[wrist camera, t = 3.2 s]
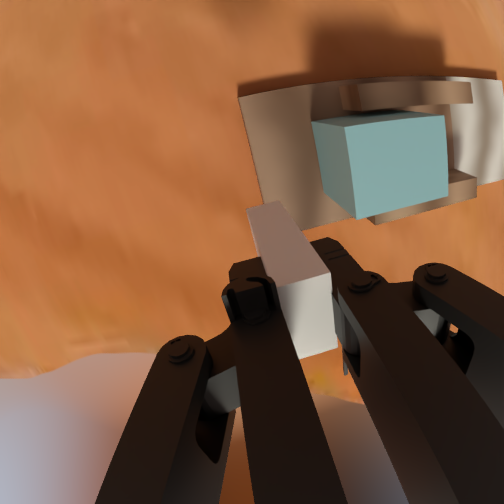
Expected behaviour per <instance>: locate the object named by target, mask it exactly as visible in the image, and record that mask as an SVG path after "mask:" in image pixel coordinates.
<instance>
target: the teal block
mask: <svg viewBox="0 0 504 504" xmlns="http://www.w3.org/2000/svg"><path fill="white" fill-rule="evenodd" d="M311 124H312V129H313V134H314V139H315V144H316V150H317V155H318V161H319V166H320V172H321V178H322V184H323V190H324V193H325V194H326V195H327V196H329V197H330V198H331V199H332V200H333V201H335V202H336V203H337V204H338V205H340V206H341V207H342V208H343V209H344V210H346V211H347V212H348V213H349V214H350V215H351V216H353V217H354V218H355V219H356V220H358V219H362V218H366V217H370V216H373V215H377V214H381V213H385V212H389V211H393V210H396V209H400V208H404V207H408V206H412V205H416V204H420V203H423V202H427V201H431V200H435V199H439V198H443V197H447V196H448V157H447V141H446V128H445V118H444V115H438V114H431V113H423V112H414V111H405V110H388V111H379V112H371V113H363V114H355V115H348V116H342V117H335V118H329V119H323V120H317V121H312V122H311Z"/></svg>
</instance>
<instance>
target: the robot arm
mask: <svg viewBox="0 0 504 504" xmlns="http://www.w3.org/2000/svg"><path fill="white" fill-rule="evenodd" d="M246 212H247V215H248V219H249V223H250V227H251V231H252V235H253V239H254V243H255V247H256V250H257V254H258V257H256V258H253V259H249V260H245V261H241V262H238V263H234V264H233V265H232V267H231V269H230V271H229V280H230V283H229V284H228V285H227V286H226V287H225V288H224V290H223V292H222V296H221V297H222V300H223V303H224V305H225V308H226V311H227V314H228V317H229V319H230V322H231V324H230V326H229V327H228V328H227V329H226V330H225V331H224V332H223V333H221V334H220V335H218V336H216V337H214V338H212V339H210V340H208V341H206V342H204V341H203V339H202V338H200V337H198V336H194V335H184V336H179V337H177V338H174V339H172V340H170V341H169V342H167V343H166V344H165V345H164V346H162V348H161V349H160V350H159V352H158V353H157V355H156V358H155V360H154V362H153V364H152V367H151V369H150V371H149V373H148V375H147V378H146V380H145V382H144V384H143V387H142V389H141V392H140V394H139V396H138V398H137V401H136V403H135V405H134V407H133V410H132V412H131V414H130V417H129V419H128V422H127V424H126V426H125V429H124V431H123V433H122V436H121V438H120V441H119V443H118V446H117V448H116V451H115V453H114V455H113V458H112V461H111V463H110V466H109V468H108V471H107V473H106V476H105V478H104V481H103V483H102V486H101V489H100V491H99V494H98V496H97V499H96V502H95V504H219V499H220V494H221V489H222V483H223V478H224V473H225V467H226V462H227V457H228V452H229V446H230V441H231V435H232V429H233V424H234V419H235V413H236V410H235V409H236V408H238V407H240V406H241V412H242V419H243V428H244V435H245V441H246V449H247V456H248V463H249V470H250V477H251V483H252V490H253V496H254V502H255V504H348V503H347V500H346V497H345V494H344V491H343V488H342V485H341V482H340V479H339V476H338V473H337V470H336V467H335V464H334V461H333V458H332V455H331V452H330V449H329V446H328V443H327V440H326V437H325V434H324V431H323V428H322V425H321V422H320V420H319V416H318V413H317V410H316V408H315V405H314V402H313V399H312V396H311V393H310V390H309V387H308V384H307V381H306V378H305V375H304V373H303V370H302V367H301V364H300V361H299V359H302V358H305V357H308V356H312V355H315V354H318V353H322V352H325V351H328V350H331V349H334V348H337V347H338V344H337V337H338V339H339V340H340V342H341V344H342V353H343V371H344V375H347V374H348V369H349V372H350V374H351V376H352V378H353V380H354V382H355V384H356V386H357V388H358V390H359V393H360V395H361V397H362V399H363V401H364V403H365V405H366V407H367V410H368V412H369V414H370V416H371V418H372V420H373V423H374V425H375V427H376V429H377V431H378V434H379V436H380V438H381V440H382V442H383V445H384V447H385V449H386V451H387V454H388V456H389V458H390V460H391V463H392V465H393V467H394V469H395V472H396V474H397V476H398V479H399V481H400V483H401V485H402V488H403V490H404V493H405V495H406V497H407V500H408V502H409V504H504V296H502V295H501V294H499V293H497V292H495V291H494V290H492V289H490V288H489V287H487V286H485V285H483V284H481V283H480V282H478V281H476V280H474V279H472V278H471V277H469V276H467V275H465V274H463V273H462V272H460V271H458V270H456V269H454V268H452V267H450V266H448V265H445V264H441V263H428V264H424V265H422V266H419V267H418V268H417V269H416V270H415V271H414V275H413V281H409V282H400V283H388V282H387V281H386V280H385V279H384V277H382V276H381V275H379V274H378V273H374V272H371V271H364V270H363V269H362V268H361V267H360V265H359V264H358V263H357V262H356V261H355V260H354V259H353V258H352V256H351V255H349V253H348V252H347V251H346V250H345V249H344V247H343V246H342V245H341V244H340V243H339V242H338V241H336V240H333V239H331V238H328V237H326V238H323V239H319V240H315V241H312V242H309V241H308V240H307V238H306V237H305V235H304V234H303V233H302V231H301V230H300V229H299V227H298V226H297V224H296V223H295V222H294V220H293V219H292V218H291V216H290V215H289V213H288V212H287V211H286V209H285V208H284V207H283V205H282V204H281V203H280V201H279V200H278V201H274V202H270V203H267V204H263V205H259V206H255V207H251V208H247V209H246ZM451 324H453V325H454V326H456V327H457V328H458V332H457V333H454V332H452V331H450V325H451Z"/></svg>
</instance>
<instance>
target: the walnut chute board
mask: <svg viewBox="0 0 504 504" xmlns="http://www.w3.org/2000/svg"><path fill="white" fill-rule="evenodd" d="M238 102H239V106H240V110H241V114H242V118H243V122H244V126H245V130H246V134H247V138H248V142H249V146H250V150H251V154H252V158H253V162H254V166H255V171H256V175H257V179H258V183H259V187H260V191H261V196H262V200H263V204H267V203H270V202H274V201H278V200H279V201H280V203H281V204H282V205H283V207H284V208H285V209H286V211H287V212H288V213H289V215H290V216H291V218H292V219H293V220H294V222H295V223H296V224H297V226H298V227H299V229H300V230H301V231H303V230H307V229H310V228H314V227H318V226H322V225H326V224H330V223H333V222H337V221H341V220H345V219H349V218H353V216H351V215H350V214H349V213H348V212H347V211H346V210H344V209H343V208H342V207H341V206H340V205H338V204H337V203H336V202H335V201H333V200H332V199H331V198H330V197H329V196H327V195H326V194H325V193H324V190H323V184H322V178H321V172H320V166H319V161H318V155H317V150H316V144H315V139H314V134H313V129H312V124H311V122H312V121H317V120H323V119H329V118H335V117H342V116H348V115H355V114H363V113H371V112H379V111H388V110H405V111H414V112H423V113H431V114H438V115H444V118H445V128H446V141H447V157H448V196H447V197H443V198H439V199H435V200H431V201H427V202H423V203H420V204H416V205H412V206H408V207H404V208H400V209H396V210H393V211H389V212H385V213H381V214H377V215H373V216H370V217H366V218H367V219H368V220H370V221H371V222H372V223H373V224H374V225H379V224H382V223H386V222H390V221H393V220H397V219H401V218H404V217H408V216H411V215H415V214H419V213H422V212H426V211H430V210H433V209H437V208H440V207H444V206H448V205H451V204H455V203H458V202H462V201H466V200H469V199H473V198H476V197H477V186H479V185H483V184H487V183H491V182H495V181H499V180H503V179H504V95H503V87H502V81H500V80H491V79H481V78H468V77H450V76H393V77H374V78H360V79H349V80H339V81H330V82H322V83H315V84H308V85H301V86H295V87H289V88H283V89H278V90H272V91H267V92H262V93H257V94H253V95H248V96H244V97H239V98H238Z"/></svg>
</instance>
